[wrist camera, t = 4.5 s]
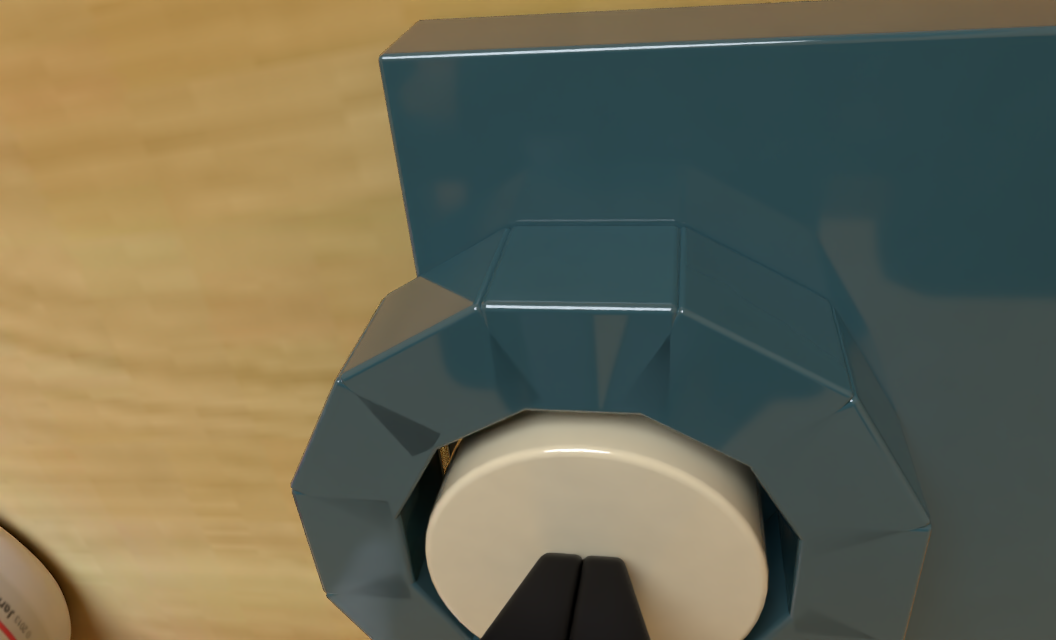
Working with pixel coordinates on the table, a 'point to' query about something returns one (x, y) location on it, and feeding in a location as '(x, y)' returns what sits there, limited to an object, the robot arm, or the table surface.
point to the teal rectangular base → (728, 295)
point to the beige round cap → (601, 520)
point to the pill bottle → (29, 596)
